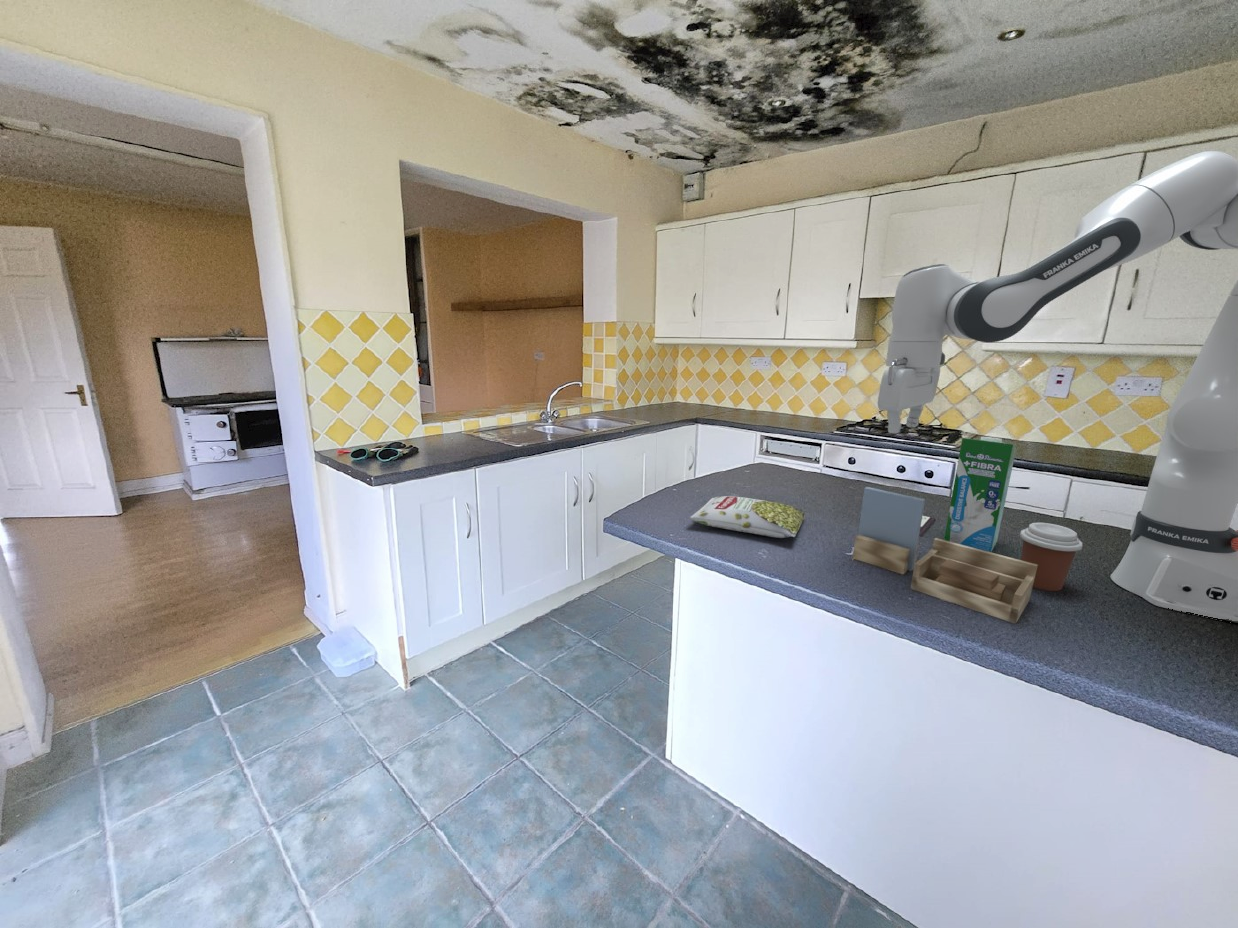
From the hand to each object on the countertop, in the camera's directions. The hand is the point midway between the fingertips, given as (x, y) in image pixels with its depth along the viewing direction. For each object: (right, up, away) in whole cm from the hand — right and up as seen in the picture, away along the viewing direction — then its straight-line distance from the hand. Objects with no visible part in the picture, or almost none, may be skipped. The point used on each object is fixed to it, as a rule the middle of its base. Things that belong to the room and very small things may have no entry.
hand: (903, 429), depth 99 cm
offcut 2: (+8, -29, -8) cm, 31 cm away
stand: (0, -28, +7) cm, 29 cm away
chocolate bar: (+17, -23, +29) cm, 41 cm away
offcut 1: (+7, -27, -8) cm, 29 cm away
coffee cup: (+25, -31, -1) cm, 40 cm away
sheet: (0, -27, +7) cm, 28 cm away
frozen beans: (-23, -23, +29) cm, 44 cm away
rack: (+8, -32, -6) cm, 33 cm away
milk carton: (+26, -25, +19) cm, 41 cm away
